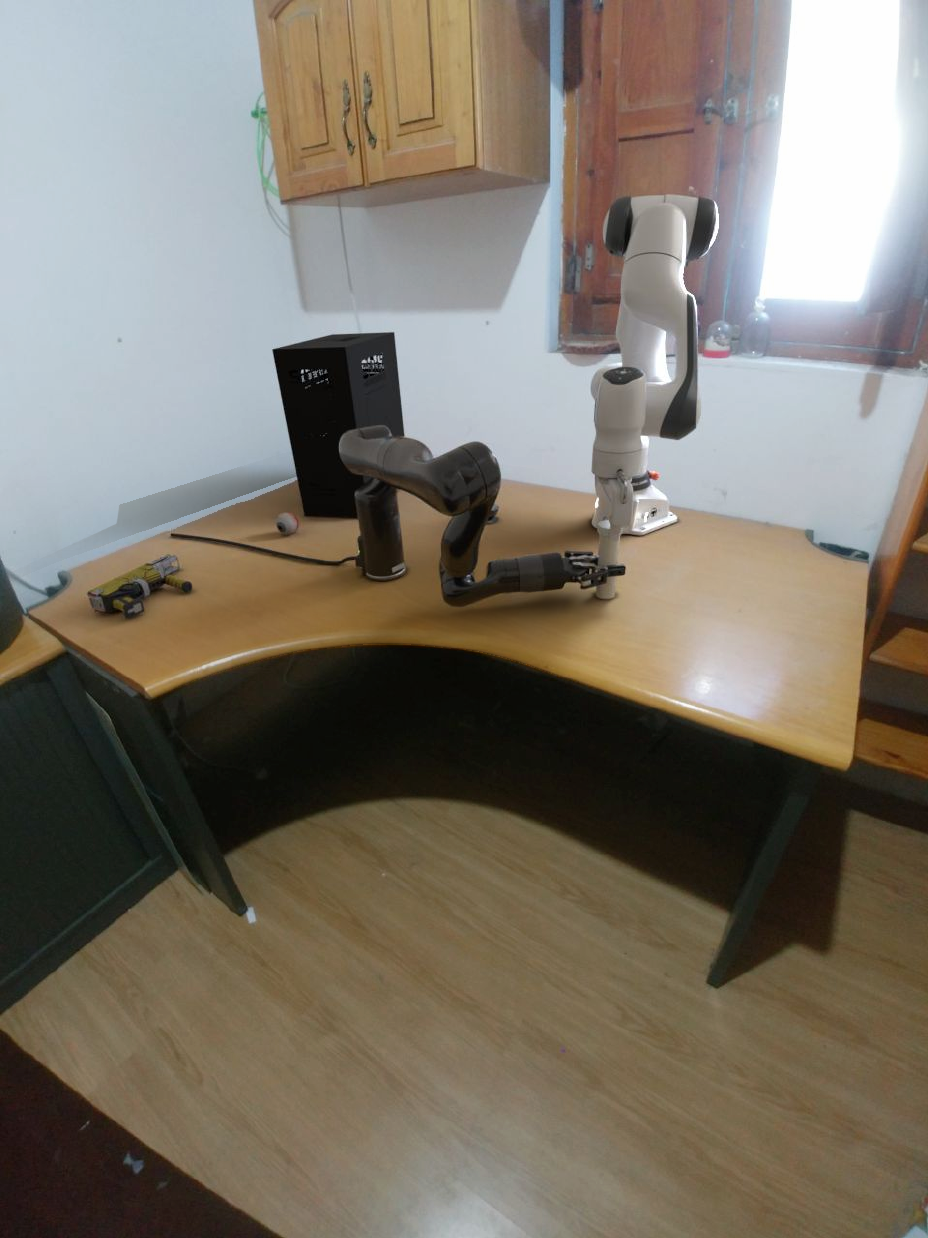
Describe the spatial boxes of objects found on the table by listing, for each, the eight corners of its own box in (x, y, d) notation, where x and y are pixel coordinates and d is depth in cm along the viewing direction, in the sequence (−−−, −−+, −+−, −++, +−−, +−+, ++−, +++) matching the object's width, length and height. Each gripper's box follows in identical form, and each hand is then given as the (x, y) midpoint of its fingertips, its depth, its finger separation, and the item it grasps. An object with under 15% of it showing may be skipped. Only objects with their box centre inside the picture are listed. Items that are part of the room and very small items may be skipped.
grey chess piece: (497, 523, 164) (496, 480, 158) (476, 523, 165) (474, 480, 159) (501, 516, 168) (500, 473, 162) (480, 515, 170) (478, 473, 164)
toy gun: (216, 562, 143) (165, 551, 147) (137, 606, 123) (80, 592, 127) (219, 580, 145) (169, 569, 149) (142, 626, 125) (86, 611, 129)
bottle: (612, 600, 124) (618, 531, 116) (593, 597, 125) (597, 528, 118) (617, 592, 127) (623, 524, 119) (598, 589, 128) (602, 521, 121)
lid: (619, 538, 116) (620, 530, 115) (594, 535, 118) (594, 527, 117) (625, 529, 120) (626, 521, 119) (600, 526, 122) (601, 518, 121)
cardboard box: (368, 517, 173) (345, 346, 150) (304, 515, 177) (272, 349, 155) (408, 478, 204) (394, 331, 182) (353, 477, 209) (332, 334, 186)
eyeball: (273, 537, 164) (268, 516, 161) (287, 528, 169) (282, 508, 166) (291, 539, 161) (286, 518, 158) (305, 530, 166) (301, 510, 163)
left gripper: (547, 571, 114) (635, 562, 115) (530, 542, 126) (610, 534, 127) (546, 605, 117) (631, 597, 119) (530, 574, 130) (608, 566, 131)
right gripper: (645, 479, 103) (637, 553, 110) (623, 448, 121) (617, 514, 127) (607, 480, 103) (602, 554, 110) (591, 449, 121) (587, 515, 128)
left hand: (620, 564), depth 123 cm, fingers closed on bottle, 4 cm apart
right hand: (610, 532), depth 119 cm, fingers open, 6 cm apart
